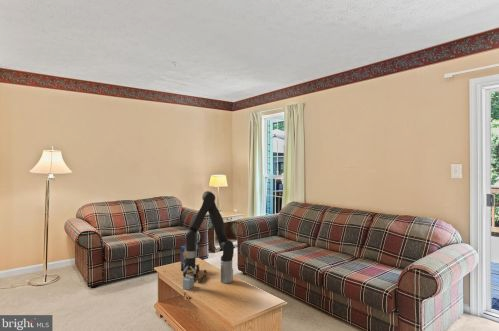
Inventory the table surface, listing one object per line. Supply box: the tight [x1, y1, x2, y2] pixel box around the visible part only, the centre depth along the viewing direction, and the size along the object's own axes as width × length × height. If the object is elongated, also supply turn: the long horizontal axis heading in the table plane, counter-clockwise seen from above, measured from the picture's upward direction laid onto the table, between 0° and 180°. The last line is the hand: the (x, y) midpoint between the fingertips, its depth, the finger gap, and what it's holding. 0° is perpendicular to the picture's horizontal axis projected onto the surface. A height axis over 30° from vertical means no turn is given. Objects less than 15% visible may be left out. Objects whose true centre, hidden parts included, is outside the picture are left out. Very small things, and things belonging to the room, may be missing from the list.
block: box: [182, 275, 195, 291], centre depth 231 cm, size 5×8×7 cm, turn 164°
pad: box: [182, 274, 199, 280], centre depth 251 cm, size 9×9×1 cm
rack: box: [190, 268, 207, 284], centre depth 247 cm, size 10×14×6 cm
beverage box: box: [180, 245, 197, 274], centre depth 266 cm, size 7×11×22 cm, turn 132°
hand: (189, 277), depth 233 cm, fingers open, 8 cm apart
